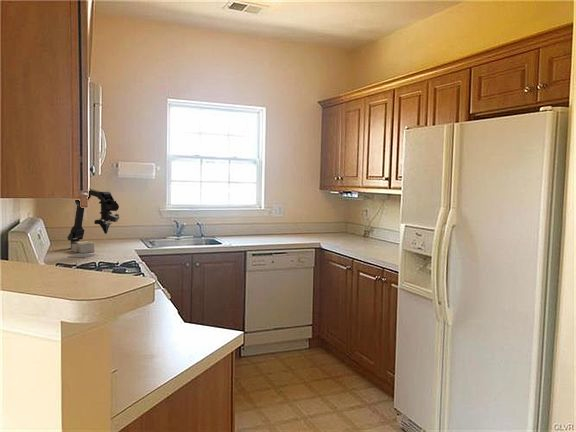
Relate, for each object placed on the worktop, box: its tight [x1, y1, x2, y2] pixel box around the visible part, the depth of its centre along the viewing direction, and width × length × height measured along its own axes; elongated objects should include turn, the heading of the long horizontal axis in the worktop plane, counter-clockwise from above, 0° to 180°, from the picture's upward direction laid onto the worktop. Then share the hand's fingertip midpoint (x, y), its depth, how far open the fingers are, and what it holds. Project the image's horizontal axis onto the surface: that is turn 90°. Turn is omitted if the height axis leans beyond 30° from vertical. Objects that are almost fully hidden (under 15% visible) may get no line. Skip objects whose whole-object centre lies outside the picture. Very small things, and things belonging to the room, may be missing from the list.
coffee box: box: [70, 240, 95, 254], centre depth 331 cm, size 9×6×16 cm
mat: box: [67, 253, 96, 259], centre depth 313 cm, size 12×12×1 cm
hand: (105, 233), depth 325 cm, fingers closed
